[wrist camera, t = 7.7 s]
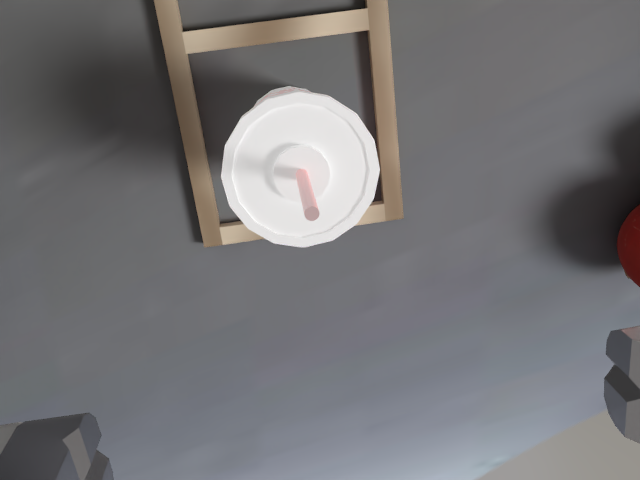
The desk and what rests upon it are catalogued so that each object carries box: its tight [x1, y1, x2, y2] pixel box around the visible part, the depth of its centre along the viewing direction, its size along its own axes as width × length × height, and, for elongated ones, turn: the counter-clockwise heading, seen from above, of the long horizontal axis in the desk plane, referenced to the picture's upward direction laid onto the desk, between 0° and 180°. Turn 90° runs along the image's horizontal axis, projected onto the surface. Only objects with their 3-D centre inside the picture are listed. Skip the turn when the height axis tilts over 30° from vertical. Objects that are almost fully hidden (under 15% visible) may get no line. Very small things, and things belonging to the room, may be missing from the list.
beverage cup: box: [221, 86, 380, 247], centre depth 25 cm, size 6×6×14 cm
